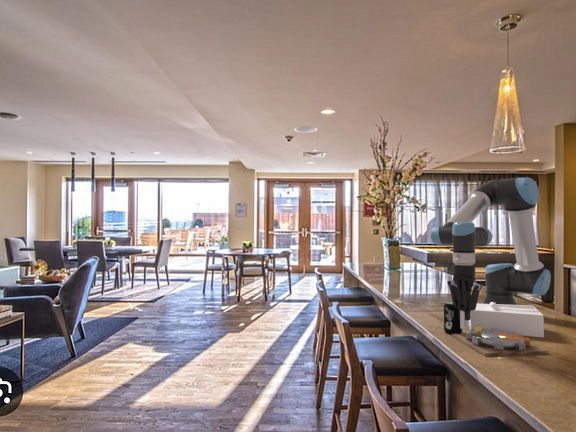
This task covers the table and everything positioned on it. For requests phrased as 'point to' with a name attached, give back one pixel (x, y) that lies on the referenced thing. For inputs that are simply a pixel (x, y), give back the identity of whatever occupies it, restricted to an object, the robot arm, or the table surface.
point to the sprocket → (497, 338)
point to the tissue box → (509, 318)
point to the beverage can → (451, 319)
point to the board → (494, 352)
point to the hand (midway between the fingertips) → (464, 328)
